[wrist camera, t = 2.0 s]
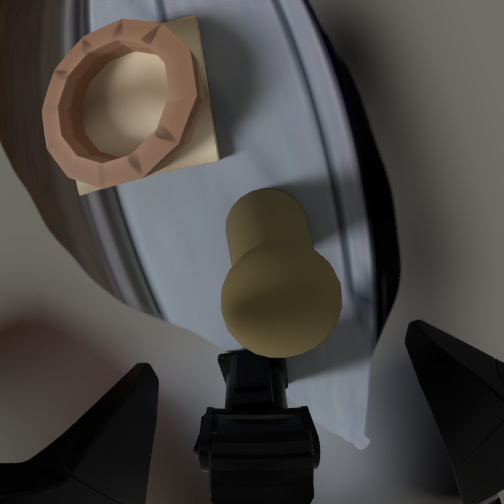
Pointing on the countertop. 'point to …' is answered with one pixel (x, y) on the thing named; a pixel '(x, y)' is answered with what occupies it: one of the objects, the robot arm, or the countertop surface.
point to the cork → (277, 278)
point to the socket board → (131, 104)
